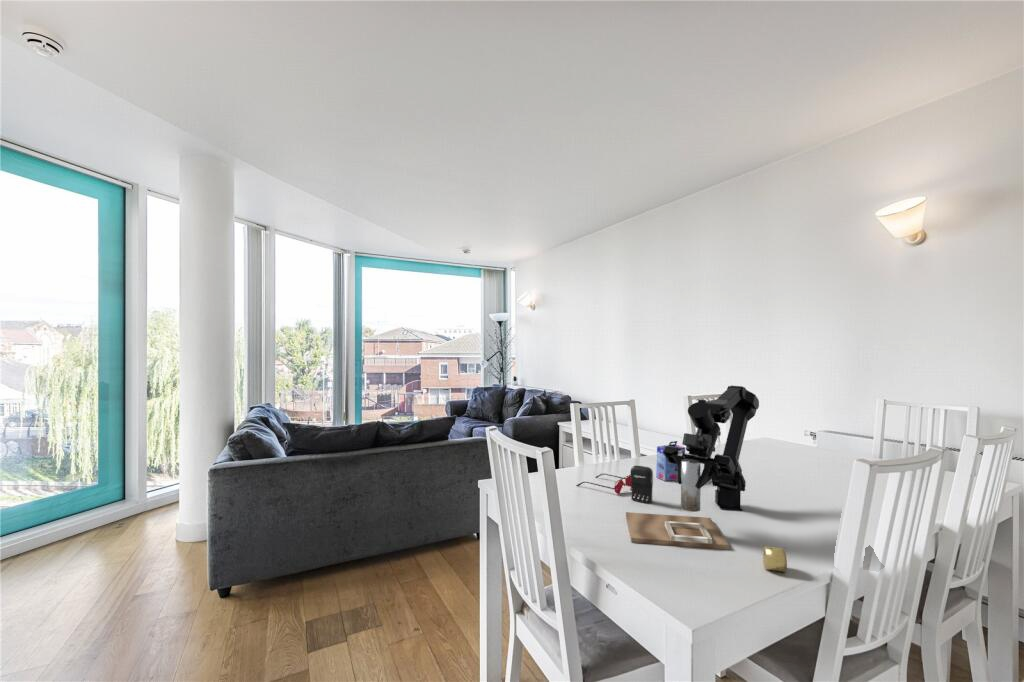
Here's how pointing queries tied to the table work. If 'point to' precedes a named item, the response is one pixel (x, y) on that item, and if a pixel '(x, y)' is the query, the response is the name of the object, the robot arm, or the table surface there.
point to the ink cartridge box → (666, 464)
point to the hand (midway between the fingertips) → (688, 485)
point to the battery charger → (641, 483)
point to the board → (675, 530)
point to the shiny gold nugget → (774, 559)
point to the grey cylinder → (690, 485)
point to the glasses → (619, 484)
